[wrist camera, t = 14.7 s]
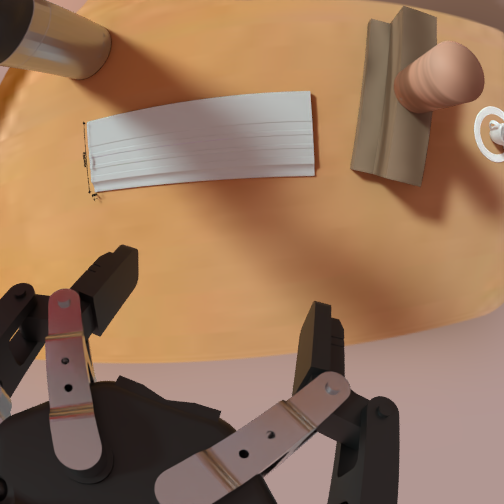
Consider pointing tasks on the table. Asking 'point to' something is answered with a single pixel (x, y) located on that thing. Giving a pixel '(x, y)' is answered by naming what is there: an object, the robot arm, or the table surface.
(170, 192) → the table surface
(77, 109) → the table surface
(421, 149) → the ridge
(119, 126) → the baseboard molding
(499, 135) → the teacup and saucer
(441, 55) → the pink domed cylinder
